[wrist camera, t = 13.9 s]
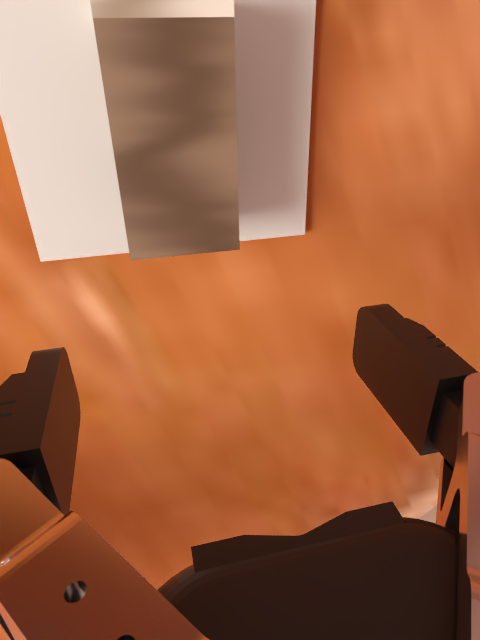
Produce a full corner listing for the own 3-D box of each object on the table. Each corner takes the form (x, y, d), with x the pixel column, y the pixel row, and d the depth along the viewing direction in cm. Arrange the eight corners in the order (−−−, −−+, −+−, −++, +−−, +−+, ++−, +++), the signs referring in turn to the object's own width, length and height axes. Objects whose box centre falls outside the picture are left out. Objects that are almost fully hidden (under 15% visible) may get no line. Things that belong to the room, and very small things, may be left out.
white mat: (42, 257, 25) (40, 261, 24) (-39, -43, 18) (-44, -46, 18) (301, 231, 27) (304, 234, 27) (313, -41, 21) (318, -43, 20)
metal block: (130, 260, 20) (87, -18, 15) (130, 225, 24) (96, -1, 19) (239, 249, 21) (233, -18, 16) (220, 217, 25) (211, -1, 20)
